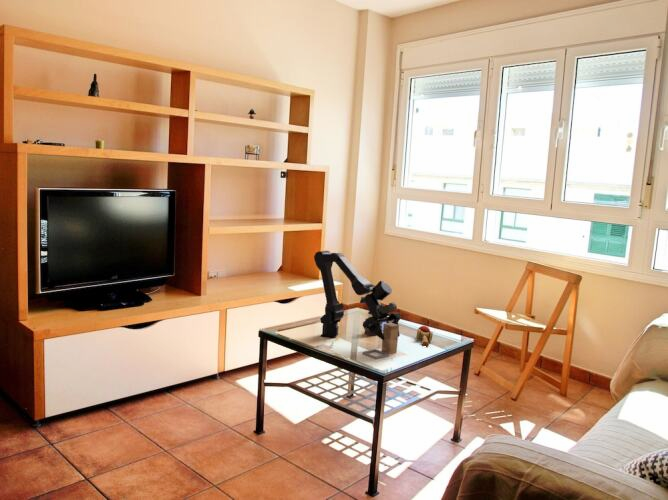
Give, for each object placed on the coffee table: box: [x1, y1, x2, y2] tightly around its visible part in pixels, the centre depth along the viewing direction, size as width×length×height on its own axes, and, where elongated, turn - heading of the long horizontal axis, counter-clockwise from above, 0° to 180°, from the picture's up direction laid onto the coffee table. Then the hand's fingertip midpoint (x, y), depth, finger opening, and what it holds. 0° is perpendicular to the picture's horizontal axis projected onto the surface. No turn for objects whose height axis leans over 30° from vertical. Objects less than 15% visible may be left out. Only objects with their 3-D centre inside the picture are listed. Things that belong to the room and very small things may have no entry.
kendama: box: [415, 325, 434, 348], centre depth 264 cm, size 8×6×18 cm
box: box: [364, 323, 382, 337], centre depth 271 cm, size 6×6×7 cm
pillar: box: [381, 323, 400, 355], centre depth 240 cm, size 4×4×12 cm
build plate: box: [355, 347, 408, 363], centre depth 238 cm, size 12×19×2 cm, turn 132°
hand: (391, 337), depth 240 cm, fingers open, 9 cm apart
